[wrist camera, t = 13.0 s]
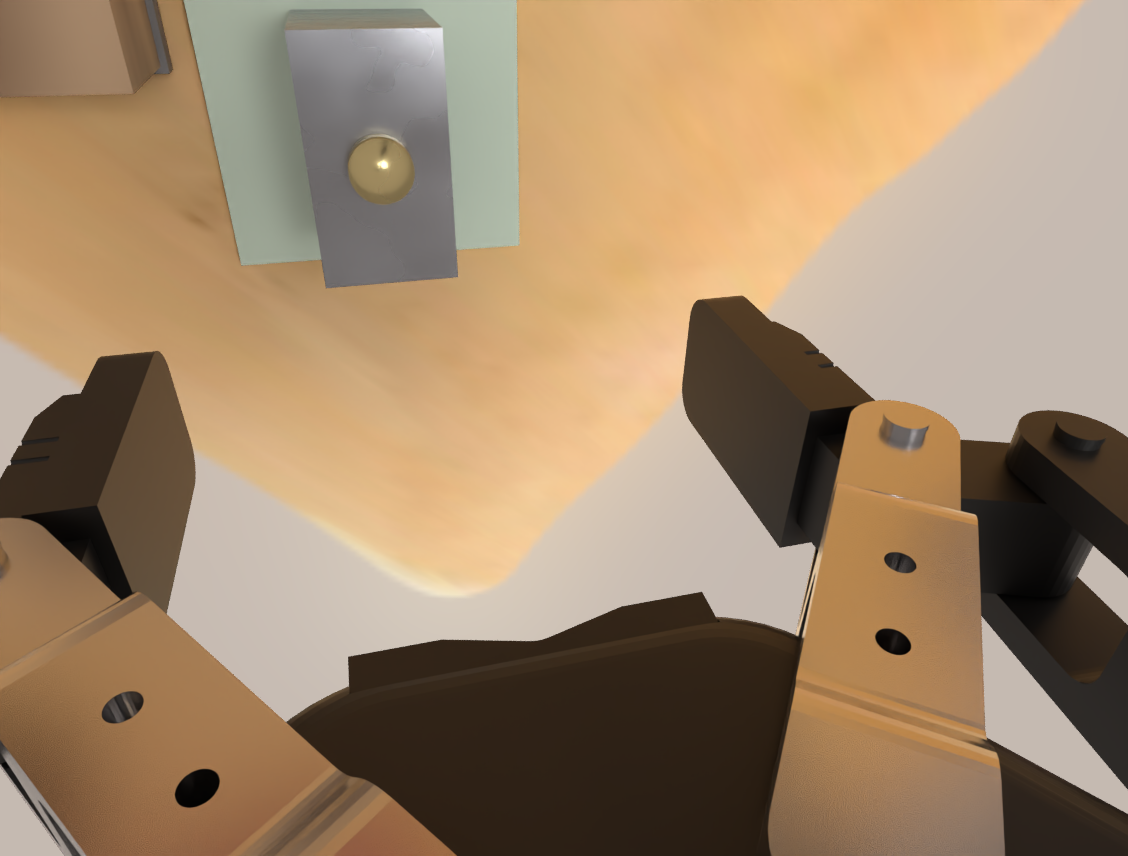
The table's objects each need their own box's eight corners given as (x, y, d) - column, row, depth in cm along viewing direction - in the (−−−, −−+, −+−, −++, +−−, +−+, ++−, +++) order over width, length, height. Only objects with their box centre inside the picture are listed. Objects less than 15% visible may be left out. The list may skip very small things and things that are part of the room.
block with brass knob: (422, 8, 25) (445, 30, 20) (438, 225, 29) (460, 284, 24) (290, 9, 24) (283, 32, 19) (324, 233, 28) (326, 296, 23)
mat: (513, -29, 25) (516, -28, 25) (516, 241, 30) (519, 245, 30) (178, -32, 23) (177, -31, 23) (242, 261, 28) (241, 265, 28)
